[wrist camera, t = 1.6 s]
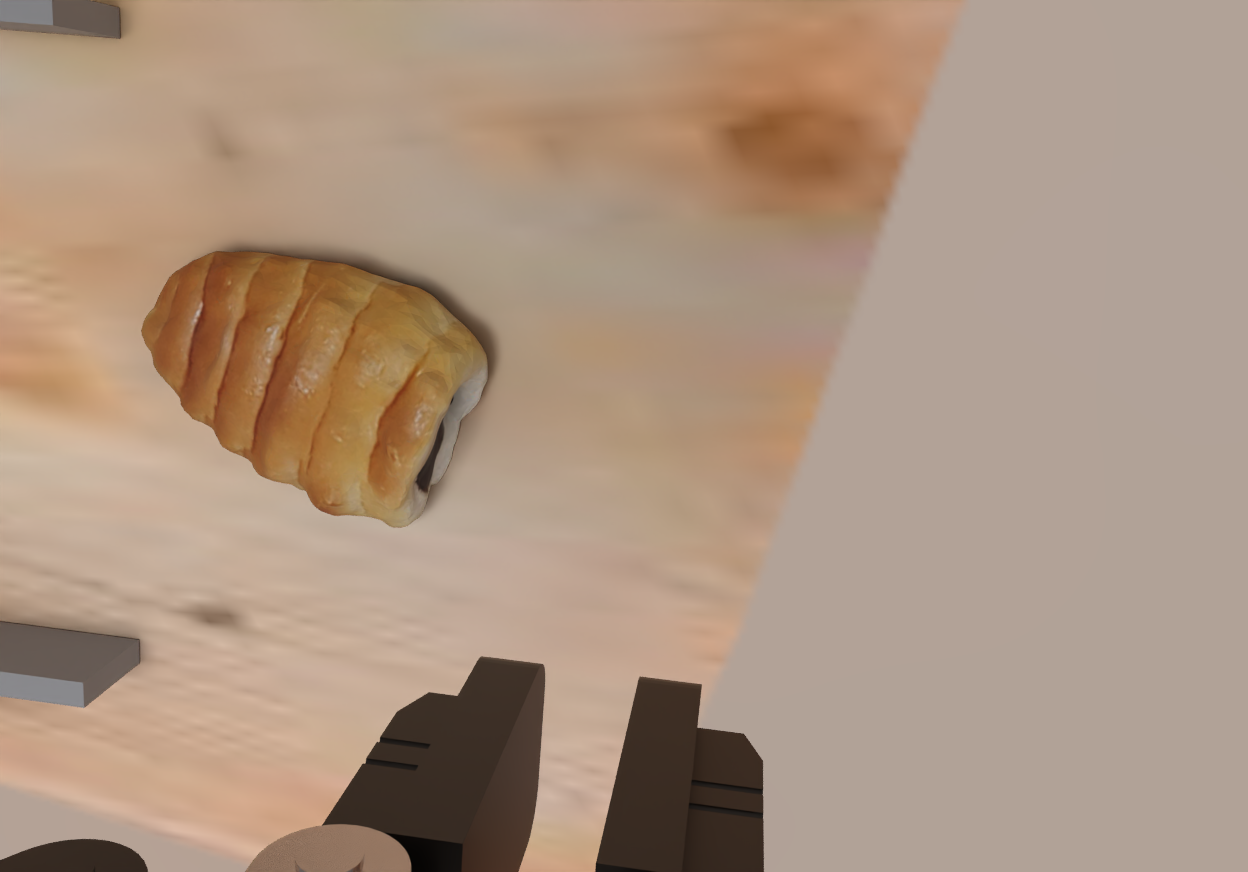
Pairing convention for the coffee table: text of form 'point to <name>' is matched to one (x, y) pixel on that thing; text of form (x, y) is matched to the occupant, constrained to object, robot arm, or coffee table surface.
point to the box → (30, 653)
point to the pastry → (320, 375)
